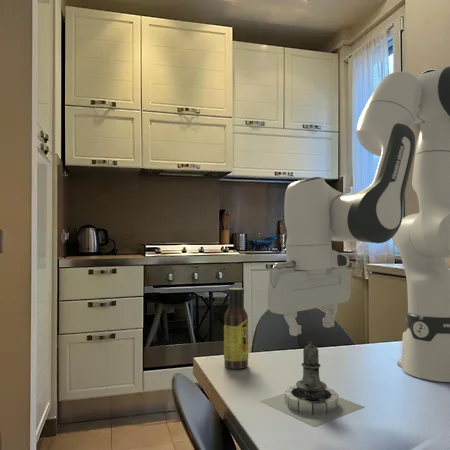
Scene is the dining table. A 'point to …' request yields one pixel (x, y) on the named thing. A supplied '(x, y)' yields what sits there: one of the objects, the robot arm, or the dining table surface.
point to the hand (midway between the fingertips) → (312, 330)
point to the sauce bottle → (235, 331)
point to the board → (312, 420)
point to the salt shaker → (311, 376)
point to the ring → (311, 402)
